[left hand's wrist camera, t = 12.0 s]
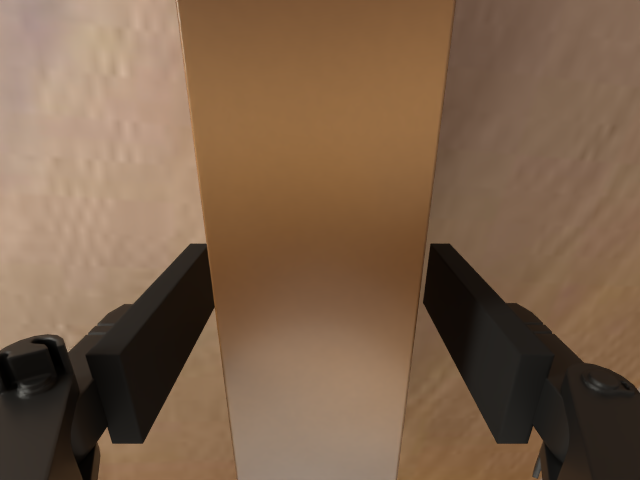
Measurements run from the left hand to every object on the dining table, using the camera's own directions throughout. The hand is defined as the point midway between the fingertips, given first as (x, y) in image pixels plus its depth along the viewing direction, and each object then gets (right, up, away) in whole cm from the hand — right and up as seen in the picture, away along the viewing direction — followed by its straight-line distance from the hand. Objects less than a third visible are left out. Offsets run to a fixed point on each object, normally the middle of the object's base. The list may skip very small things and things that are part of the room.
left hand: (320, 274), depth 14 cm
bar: (0, +18, -4) cm, 18 cm away
